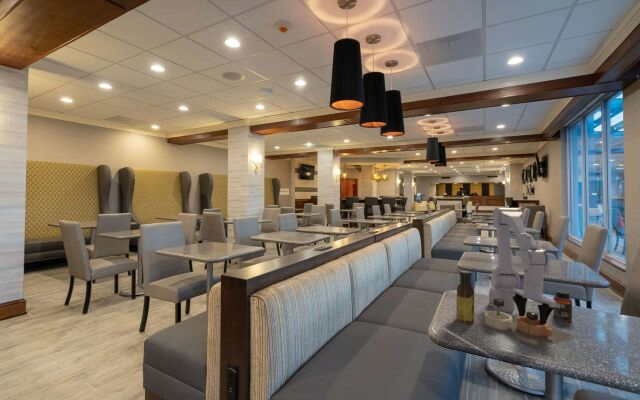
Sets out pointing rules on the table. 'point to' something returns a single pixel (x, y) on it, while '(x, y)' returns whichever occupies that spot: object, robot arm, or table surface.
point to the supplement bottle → (563, 306)
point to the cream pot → (499, 320)
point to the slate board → (533, 340)
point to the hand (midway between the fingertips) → (532, 320)
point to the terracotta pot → (533, 327)
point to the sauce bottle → (465, 299)
